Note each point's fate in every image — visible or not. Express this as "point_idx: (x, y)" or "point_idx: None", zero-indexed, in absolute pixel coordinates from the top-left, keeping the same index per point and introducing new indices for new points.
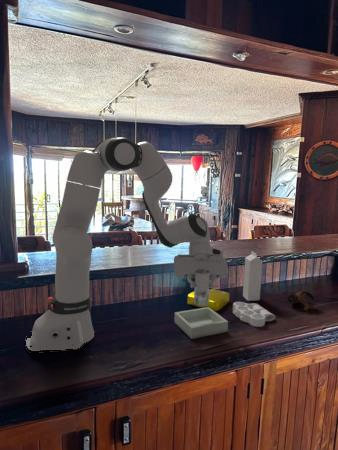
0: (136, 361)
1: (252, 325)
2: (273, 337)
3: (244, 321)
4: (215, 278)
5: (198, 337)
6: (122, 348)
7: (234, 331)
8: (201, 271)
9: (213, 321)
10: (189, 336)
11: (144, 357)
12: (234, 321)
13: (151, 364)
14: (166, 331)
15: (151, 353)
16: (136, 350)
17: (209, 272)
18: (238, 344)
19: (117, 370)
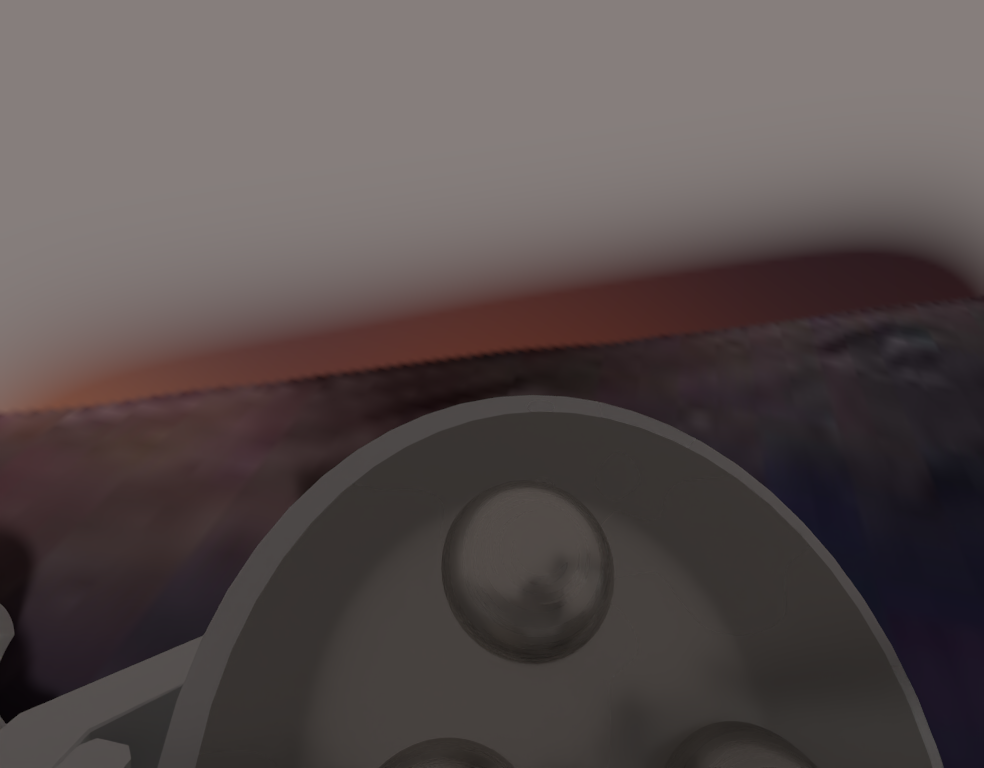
0: (851, 364)
1: (11, 622)
2: (44, 421)
3: (4, 724)
4: (67, 697)
5: None
6: (959, 480)
7: (237, 551)
8: (650, 689)
9: None
10: None
11: (823, 384)
12: None
13: (783, 333)
14: None
15: (797, 407)
16: (879, 447)
17: (263, 583)
18: (323, 394)
19: (907, 326)
